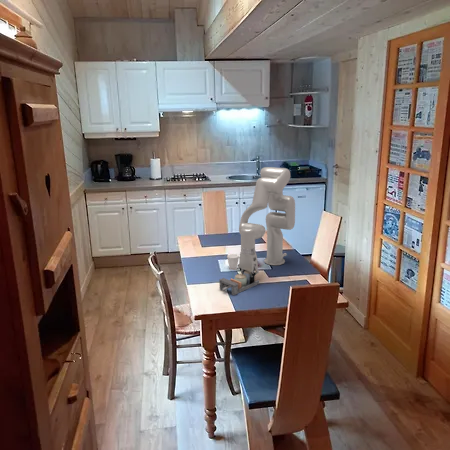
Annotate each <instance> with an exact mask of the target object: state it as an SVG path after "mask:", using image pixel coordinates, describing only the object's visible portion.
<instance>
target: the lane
mask: <svg viewBox="0 0 450 450" xmlns="http://www.w3.org/2000/svg"><path fill="white" fill-rule="evenodd" d="M259 284H260V279H257V280H255V281H254V282H252V283H250V284H247V285H245V286H243V287H241V288H238V283H235V282H233V281H230V279H227V278H225V277H222V278H220V279H219V290H220V291H223V290H222V289H223V288H225V287H228V286H231V287H230V288H231V295H232V296H236V295H238V294H239V293H242V292H244V291H246V290H248V289H251V288H253V287H255V286H257V285H259Z"/></svg>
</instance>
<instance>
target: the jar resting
mask: <svg viewBox="0 0 450 450" xmlns="http://www.w3.org/2000/svg"><path fill="white" fill-rule="evenodd" d="M234 280H237V281H239V282H241V287H243V286H245V285H247V276H246V275H244V274H241V273H238V274H235V275H234Z"/></svg>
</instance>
